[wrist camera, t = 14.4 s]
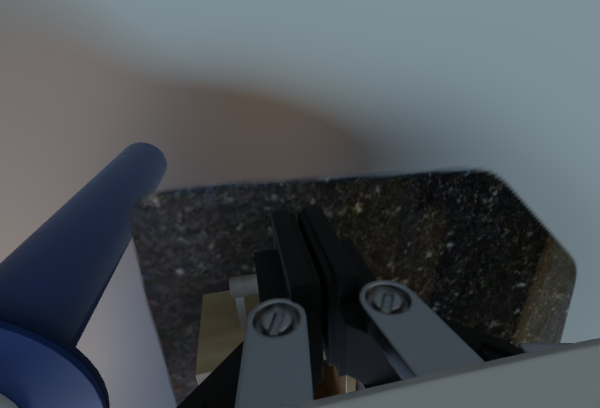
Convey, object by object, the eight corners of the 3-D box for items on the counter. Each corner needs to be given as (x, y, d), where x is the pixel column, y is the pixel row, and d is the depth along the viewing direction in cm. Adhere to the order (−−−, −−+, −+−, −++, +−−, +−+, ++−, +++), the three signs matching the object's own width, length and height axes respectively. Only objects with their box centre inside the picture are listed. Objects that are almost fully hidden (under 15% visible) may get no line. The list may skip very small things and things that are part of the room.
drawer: (193, 251, 26) (181, 324, 19) (333, 230, 28) (370, 288, 21) (226, 401, 33) (227, 492, 26) (335, 376, 35) (363, 455, 28)
